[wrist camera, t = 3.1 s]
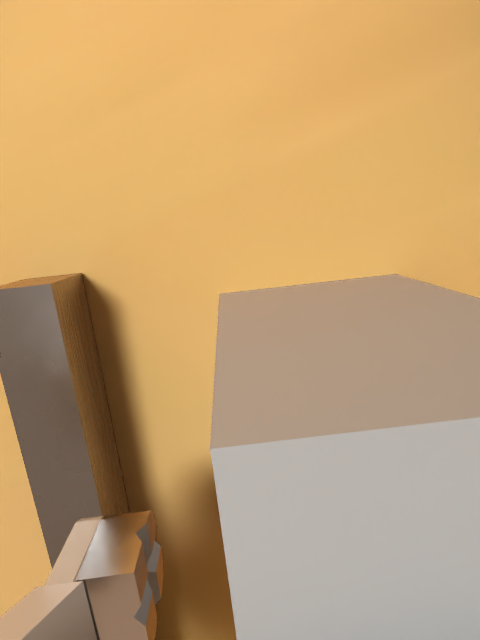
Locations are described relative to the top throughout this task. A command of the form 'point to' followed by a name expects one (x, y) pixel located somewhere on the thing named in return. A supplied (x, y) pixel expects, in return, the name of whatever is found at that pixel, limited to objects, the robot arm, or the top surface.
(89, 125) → the top surface
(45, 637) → the robot arm
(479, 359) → the white upright box
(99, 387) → the channel
